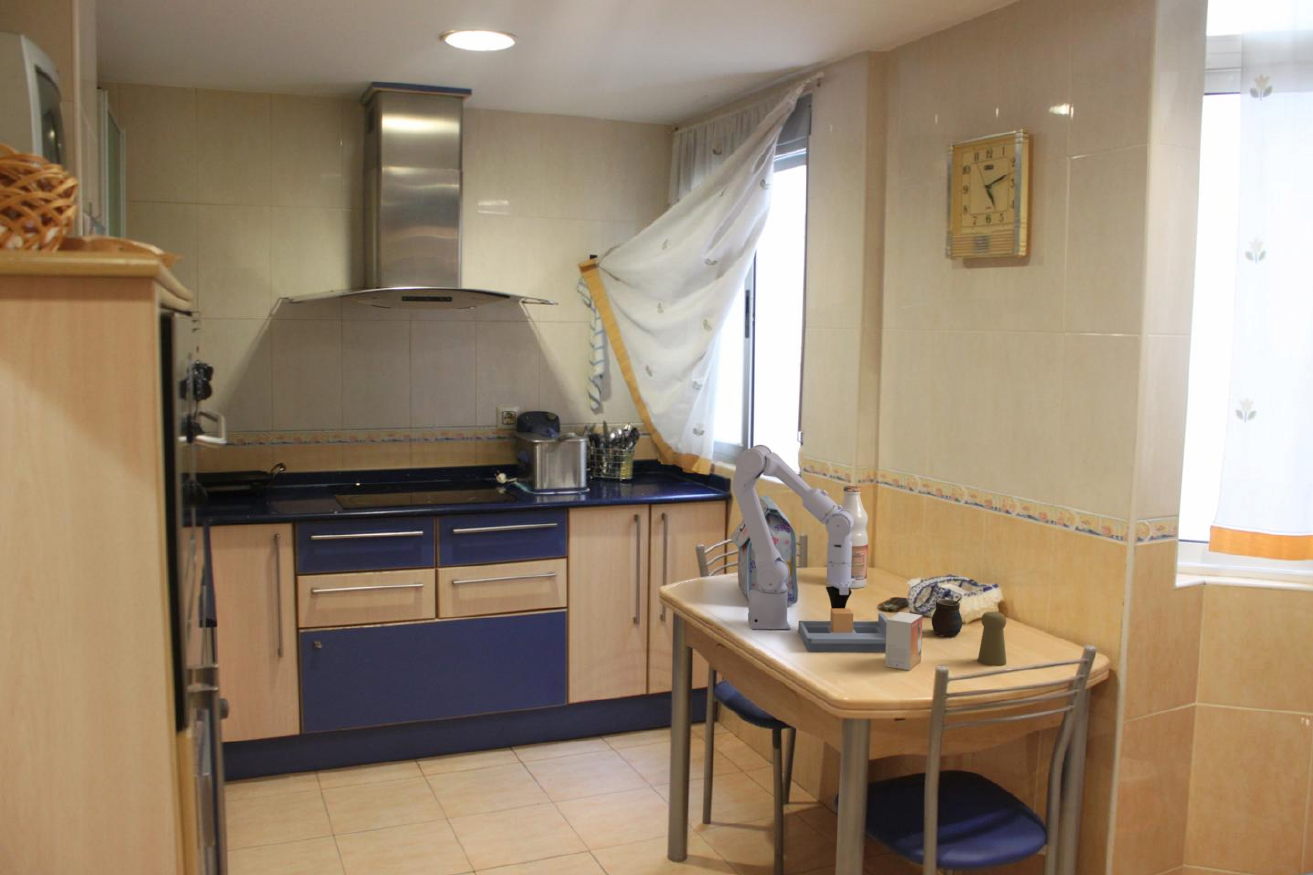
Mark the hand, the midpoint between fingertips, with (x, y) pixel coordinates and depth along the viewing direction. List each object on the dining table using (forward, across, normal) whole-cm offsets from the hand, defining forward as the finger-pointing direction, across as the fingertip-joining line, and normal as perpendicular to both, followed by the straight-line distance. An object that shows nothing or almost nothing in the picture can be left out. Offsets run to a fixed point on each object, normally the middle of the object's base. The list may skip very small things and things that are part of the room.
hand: (837, 617), depth 261 cm
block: (+2, -5, 0) cm, 5 cm away
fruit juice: (+4, +47, -12) cm, 49 cm away
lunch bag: (+4, +34, +14) cm, 36 cm away
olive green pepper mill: (+4, -23, -30) cm, 38 cm away
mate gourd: (+4, -2, -26) cm, 26 cm away
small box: (+4, -25, -10) cm, 27 cm away
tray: (+4, -8, 0) cm, 9 cm away
